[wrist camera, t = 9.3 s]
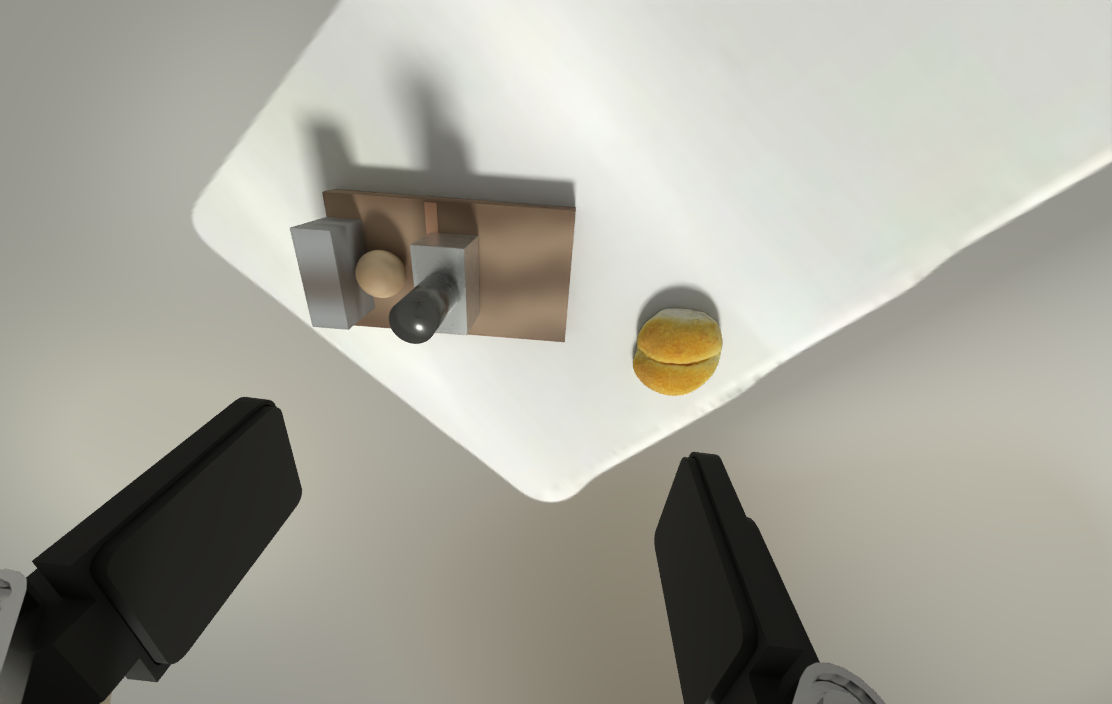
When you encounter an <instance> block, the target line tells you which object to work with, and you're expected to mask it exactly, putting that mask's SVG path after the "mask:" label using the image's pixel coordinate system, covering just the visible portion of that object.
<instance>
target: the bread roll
mask: <svg viewBox="0 0 1112 704" xmlns="http://www.w3.org/2000/svg"><path fill="white" fill-rule="evenodd" d="M722 343H723V342H722V335H721V331H720V328H719V326H718V324H717V322H716V321H715V320H714V319H713V318H711V317H710V316H709V315H707V314H706V313H704V312H701V311H696V310H691V309H680V308H669V309H663V310H661V311H660V312H658V313H657V314H656V315H655V316H653V317H652V318H651V319H649V320H648V321H647V322H646V323H645V324H644V325H643V327H642V329H641V330H640V332H639V335H638V340H637V345H638V346H637V352H636V354H635V356H634V360H633V368H634V371H635V374H636V375H637V377H638V378H639V379H640V381H641V382H642V383H643V384H644V385H645V386H647V387H648V388H650V389H652V390H654V391H656V392H658V393H661V394H664V395H670V396H677V395H684V394H688V393H690V392H692V391H694V390H696V389H698V388H699V387H700V386H702V385H703V384H704V383H705V382H706V381H707V380H708V379H709V378H710V377H711V376H712V375H713V373H714V371H715V369H716V367H717V365H718V363H719V359H720V354H721V349H722Z"/></svg>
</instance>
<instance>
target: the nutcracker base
mask: <svg viewBox="0 0 1112 704" xmlns="http://www.w3.org/2000/svg"><path fill="white" fill-rule="evenodd" d="M322 193H323V198H324V204H325V209H326V214H327V217H325V218H322V219H318V220H315V221H311V222H308V223H305V224H301V225H298V226H294V227H291V228H290V231H291V235H292V240H293V244H294V248H295V253H296V257H297V261H298V266H299V270H300V274H301V278H302V283H303V287H304V291H305V296H306V300H307V304H308V309H309V313H310V317H311V322H312V326H313V327H323V328H335V329H348V330H349V329H350V328H351V327H352V326H353V325H356V326H368V327H381V328H391V327H390V324H389V313H390V310H391V309H392V307H393V306H394V305H395V304H396V303H398V302H399V301H400V300H401V299H402V298H403V297H404V296H406V295H407V294H408V293H409V292H410V291H411V290H412V289H413V288H414V281H413V271H412V261H411V251H410V245H411V244H412V243H414V242H416V241H417V240H419V239H420V238H422V237H424V236H425V235H427V234H429V233H430V232H435V233H448V234H461V235H474V236H478V250H479V294H480V314H479V316H478V317H477V319H476V321H475V323H474V324H473V326H472V328H471V330H470V331H469V333H468V334H469V335H481V336H494V337H506V338H519V339H532V340H544V341H557V342H565V331H566V319H567V307H568V295H569V283H570V271H571V259H572V247H573V235H574V224H575V212H576V208H575V207H561V206H548V205H535V204H522V203H508V202H495V201H482V200H469V199H456V198H442V197H429V196H416V195H403V194H390V193H376V192H363V191H350V190H337V189H335V190H329V191H324V192H322Z"/></svg>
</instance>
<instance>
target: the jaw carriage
mask: <svg viewBox="0 0 1112 704" xmlns="http://www.w3.org/2000/svg"><path fill="white" fill-rule="evenodd" d="M410 251H411V261H412V271H413V281H414V288H413V289H412V290H411V291H410V292H409V293H408V294H407V295H406V296H404V297H403V298H402V299H401V300H400V301H399V302H398V303H396V304H395V305H394V306H393V307H392V309H391V310H390V313H389V324H390V327H391V329H392V331H393V332H394V333H395V334H396V335H397V336H398V337H399V338H400V339H402V340H404V341H406V342H408V343H413V344H419V343H423V342H426V341H428V340H429V339H430V338H431V337H432V336H433V334H434V333H446V334H458V335H468V333H469V331H470V330H471V328H472V326H473V324H474V323H475V321H476V319H477V317H478V316H479V314H480V294H479V250H478V236H474V235H461V234H448V233H435V232H430V233H429V234H427V235H425V236H424V237H422V238H420V239H419V240H417V241H416V242H414V243H412V244H411V245H410Z"/></svg>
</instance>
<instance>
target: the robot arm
mask: <svg viewBox="0 0 1112 704" xmlns="http://www.w3.org/2000/svg"><path fill="white" fill-rule="evenodd" d="M301 495H302V488H301V484H300V480H299V476H298V472H297V469H296V465H295V461H294V457H293V453H292V449H291V446H290V442H289V438H288V434H287V430H286V426H285V423H284V419H283V415H282V412H281V410H280V409H279V408H277V407H276V406H275V403H274V402H273V401H270V400H265V399H258V398H250V397H241V398H239V399H237V400H235V401H234V402H233V403H232V404H230V405H229V406H228V407H227V408H225V409H224V410H223V411H222V412H220V413H219V414H218V415H216V416H215V417H214V418H213V419H211V420H210V421H209V422H208V423H206V424H205V425H204V426H203V427H201V428H200V429H199V430H198V431H196V432H195V433H194V434H192V435H191V436H190V437H189V438H187V439H186V440H185V441H183V442H182V443H181V444H180V445H179V446H177V447H176V448H175V449H173V450H172V451H171V452H170V453H168V454H167V455H166V456H164V457H163V458H162V459H161V460H159V461H158V462H157V463H156V464H155V465H153V466H152V467H151V468H149V469H148V470H147V471H145V472H144V473H143V474H142V475H140V476H139V477H138V478H137V479H135V480H134V481H133V482H132V483H130V484H129V485H128V486H127V487H125V488H124V489H123V490H121V491H120V492H119V493H118V494H116V495H115V496H114V497H112V498H111V499H110V500H109V501H107V502H106V503H105V504H104V505H102V506H101V507H100V508H99V509H97V510H96V511H95V512H94V513H92V514H91V515H90V516H88V517H87V518H86V519H85V520H83V521H82V522H81V523H80V524H78V525H77V526H76V527H75V528H74V529H72V530H71V531H69V532H68V533H67V534H66V535H65V536H63V537H62V538H61V539H59V540H58V541H57V542H55V543H54V544H53V545H52V546H51V547H49V548H48V549H47V550H45V551H44V552H43V553H42V554H40V555H39V556H38V557H36V558H35V559H34V560H33V561H32V562H33V563H34V565H35V566H36V567H37V569H36V570H35V571H34V572H32V573H31V574H30V575H29V576H28V577H24V575H23V574H21V572H18V571H14V570H9V569H4V570H0V704H110V702H111V694H112V691H113V690H114V689H115V687H116V686H117V685H118V684H119V682H120V681H121V680H122V679H123V678H124V676H126V678H127V679H133V680H143V681H151V682H158V681H159V679H160V678H161V677H162V676H163V674H164V673H165V672H166V670H167V669H168V668H169V666H170V665H171V664H174V663H176V662H178V661H179V660H180V659H182V658H183V657H184V656H185V655H186V653H187V652H188V651H189V650H190V648H191V647H192V646H193V644H194V643H195V642H196V640H197V639H198V637H199V636H200V635H201V634H202V632H203V631H204V630H205V628H206V627H207V625H208V624H209V623H210V622H211V620H212V619H213V618H214V616H215V615H216V613H217V612H218V611H219V610H220V608H221V607H222V605H223V604H224V603H225V601H226V600H227V599H228V597H229V596H230V594H231V593H232V592H233V591H234V589H235V588H236V587H237V585H238V584H239V583H240V581H241V580H242V579H243V577H244V576H245V575H246V573H247V572H248V571H249V569H250V568H251V567H252V565H253V564H254V563H255V561H256V560H257V559H258V557H259V556H260V555H261V553H262V552H263V551H264V549H265V548H266V547H267V545H268V544H269V543H270V541H271V540H272V539H273V537H274V536H275V535H276V533H277V532H278V531H279V529H280V528H281V526H282V525H283V524H284V522H285V521H286V520H287V518H288V517H289V516H290V514H291V513H292V512H293V510H294V509H295V507H296V506H297V505H298V503H299V501H300V499H301ZM654 540H655V541H654V542H655V543H654V544H655V551H656V556H657V562H658V567H659V572H660V578H661V583H662V588H663V594H664V599H665V604H666V610H667V614H668V620H669V625H670V631H671V636H672V642H673V646H674V652H675V658H676V663H677V668H678V673H679V679H680V684H681V689H682V695H683V700H684V704H885V703H884V701H883V700H882V699H881V698H880V696H879V695H878V694H877V693H876V692H875V691H874V690H873V689H872V688H871V687H870V686H869V685H868V684H866V683H865V682H864V681H863V680H862V679H861V678H860V677H858V676H856V675H855V674H853V673H851V672H850V671H848V670H847V669H845V668H843V667H840V666H837V665H834V664H831V663H820V662H819V660H818V658H817V655H816V653H815V651H814V649H813V646H812V645H811V643H810V640H809V638H808V636H807V633H806V631H805V629H804V627H803V625H802V622H801V620H800V618H799V616H798V614H797V612H796V610H795V607H794V605H793V603H792V601H791V599H790V596H789V594H788V592H787V590H786V588H785V586H784V583H783V581H782V579H781V577H780V574H779V572H778V570H777V568H776V566H775V563H774V562H773V559H772V557H771V555H770V553H769V550H768V548H767V546H766V544H765V542H764V540H763V537H762V535H761V533H760V531H759V529H758V527H757V525H756V524H755V522H754V521H753V520H752V519H751V518H748V517H746V515H745V512H744V510H743V508H742V506H741V503H740V501H739V499H738V497H737V494H736V492H735V490H734V488H733V486H732V483H731V481H730V478H729V477H728V474H727V472H726V469H725V467H724V465H723V463H722V460H721V458H720V457H719V456H718V455H715V454H707V453H699V452H692V453H691V454H690V456H689V457H688V458H687V457H683V458H682V460H681V462H680V465H679V467H678V470H677V473H676V476H675V478H674V481H673V484H672V487H671V490H670V492H669V495H668V498H667V501H666V504H665V506H664V509H663V512H662V515H661V517H660V520H659V523H658V526H657V529H656V531H655V538H654Z"/></svg>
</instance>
